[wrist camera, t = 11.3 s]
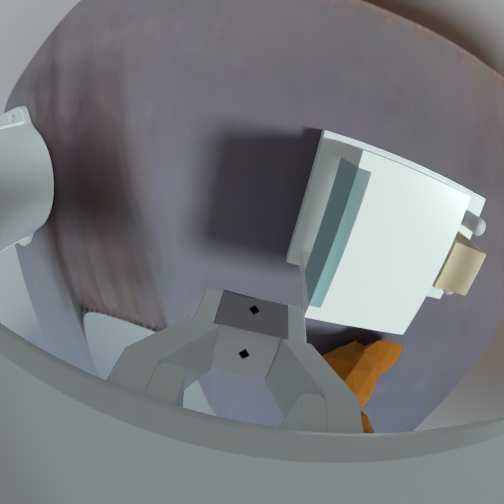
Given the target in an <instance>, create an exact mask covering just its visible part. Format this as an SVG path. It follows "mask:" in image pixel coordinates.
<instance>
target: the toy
mask: <svg viewBox="0 0 504 504" xmlns="http://www.w3.org/2000/svg"><path fill="white" fill-rule="evenodd" d="M402 349H403V346H401V345H399V344H397V343H395V342H386V341H376V342H373V343H371V344H368V345H365V346H364V345H362V344H361V343H357V340H356V341H354V342H351V343H349V344H347V345H345V346H340V347H337V348H336V349H335V350H333V351H331V352H329V353H326V354H324V355H322V357H323V358H324V359H325V361H326V362H327V363H328V364H329V365H330V366H331V368H332V369H333V370H334V371H335V372H336V373H337V374H338V376H339V377H340V378H341V379H342V380H343V381H344V382H345V384H346V385H347V386H348V387H349V388H350V389H351V390H352V391H353V393H354V394H355V395H356V396H357V397H358V400H359V406H360V408H361V407H362V406H364V405H365V404H366V403H367V402H368V400H369V398H370V396H371V394H372V391H373V389H374V386H375V384H376V382H377V379H378V377H379V375H381V374H382V373H384V372H385V371H386V370H387V369H389V368H390V367H391V366H392V365H393V364H395V363H396V361H397V359H398V357H399V355H400V353H401V351H402ZM360 412H361V418H362V424H363V431H364V433H374V430H373V428H372V426H371V424H370V422H369V419H368V417H367V415H365V414H364V413H363V412H362V411H360Z"/></svg>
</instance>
